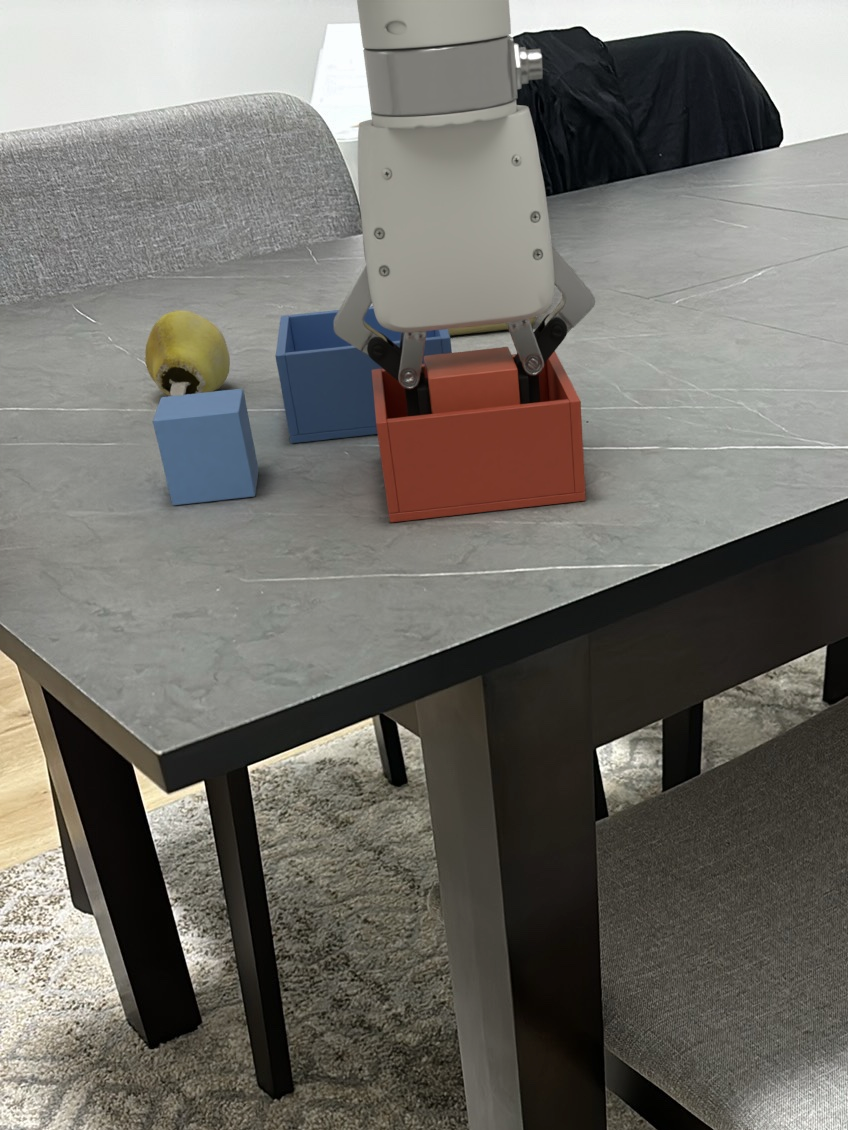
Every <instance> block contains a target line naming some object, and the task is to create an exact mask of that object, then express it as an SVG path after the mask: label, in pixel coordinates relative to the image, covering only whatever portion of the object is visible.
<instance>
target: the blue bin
mask: <svg viewBox="0 0 848 1130" xmlns="http://www.w3.org/2000/svg"><path fill="white" fill-rule="evenodd" d="M338 311H339V309H333V310H324V311H315V312H305V313H297V314H295V313H294V314H286V315H280V320H279V327H278V334H277V343H276V350H275V362H276V366H277V373H278V377H279V379H278V380H279V385H280V389H281V396H282V401H283V406H284V412H285V418H286V423H287V429H288V435H289V440H290V444H299V443H300V444H301V443H308V442H317V441H319V442H320V441H327V440H337V439H344V438H346V439H347V438H354V437H356V438H357V437H365V436H372V435H378V433H377V426H376V415H375V404H374V392H373V381H372V370H374V369H382V367H381V366H379V365H378V364H377V363H376V362H375V361H373V360H372V359H371V358H370V357H369V356H368V355H367V354H365V353H364V352H362V351H360V350H358V349H357V348H355V347H354V346H352V345H351V344H349V343H348V342H346V341H345V340H343V339H341V338H340V337H338V336H337V335H336V334H335V332H334V318H335V316H336V315H337V313H338ZM364 321H365V322H366V323H367V324H368V325H369V326H371V327H372V328H373V329H374V330H376V331H377V332H379V333H382V334H384V335H385V336H386V337H387V338H389V339H390V340H391V341H392V342H393V343H394V344H396V345H397V346H398V347H399V344H400V336H401V332H395V331H391V330H388V329H386V328H384V327H382V326H381V325H380V324H379V323H378V321H377V319H376V316H375V313H374V308H373V305H372V306H371V305H370V307H369V309H368V311H367V313H366V314H365V316H364ZM446 353H453V350H452V342H451V336H450V335H449V332H448V329H443V330H433V331H427V334H426V341H425V348H424V354H423V361H422V364H425V363H424V356H428V355H437V354H446Z"/></svg>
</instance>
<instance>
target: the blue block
mask: <svg viewBox="0 0 848 1130" xmlns="http://www.w3.org/2000/svg"><path fill="white" fill-rule="evenodd" d="M249 417H250V416H249V413H248V407H247V402H246V397H245V391H244V389H243V388H235V389H226V390H225V389H224V390H216V391H214V392H205V393H196V394H187V395H177V396H162V397H160V400H159V402H158V405H157V408H156V411H155V414H154V415H153V418H152V419H153V420H152V424H153V429H154V433H155V438H156V441H157V445H158V450H159V454H160V457H161V463H162V467H163V471H164V476H165V480H166V483H167V484H166V485H167V489H168V493H169V497H170V500H171V505H172V506H182V505H190V504H200V503H207V502H208V503H210V502H219V501H227V500H236V499H246V498H254V497H256V495H257V494H256V493H257V485H258V479H259V478H258V477H259V471H260V468H259V463H258V459H257V453H256V449H255V442H254V437H253V433H252V432H253V431H252V427H251V423H250V422H251V421H250V418H249Z"/></svg>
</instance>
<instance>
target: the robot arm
mask: <svg viewBox="0 0 848 1130" xmlns="http://www.w3.org/2000/svg"><path fill="white" fill-rule="evenodd" d="M356 4H357V12H358V20H359V26H360V36H361V44H362V48H363V50H362V51H363V59H364V67H365V75H366V83H367V91H368V99H369V106H370V116H371V119H366V120H363V121H360V122H359V123H358V130H357V182H358V200H359V201H358V202H359V210H360V221H361V233H362V245H363V254H364V264H362V266H361V269H360V271H359V273H358V275H357V276H356V278H355V280H354V282H353V284H352V285H351V287H350V289H349V291H348V293H347V295H346V296H345V298H344V300H343V301H342V303H341V305H340V307H339V309H338V310H339V311H338V313H337V315H336V316H335V318H334V332H335V334H336V335H337V336H338V337H340V338H341V339H343V340H345V341H346V342H348V343H349V344H351V345H352V346H354V347H355V348H357V349H358V350H360V351H362V352H364V353H365V354H367V355H368V356H369V357H370V358H371V359H372V360H373V361H375V362H376V363H377V364H378V365H379V366H381V367H382V368H383V369H384V370H385V371H387V372H388V373H389V374H390V375H391V376H393V377H394V378H395V379H396V380H397V381H399V383H400V384H401V386H402V387H403V388H405V395H406V403H407V411H408V417H410V416H419V415H428V414H432V410H431V401H430V393H429V387H428V382H427V378H425V375H424V370H423V367H422V361H423V354H424V348H425V341H426V334H427V331H433V330H443V329H453V328H462V327H471V326H480V325H489V324H498V323H507V326H508V331H509V334H510V337H511V340H512V343H513V346H514V349H515V351H516V353H515V354H516V355H515V357H514V362H515V365H516V367H517V369H518V381H519V394H520V404H529V403H538V402H541V400H540V386H539V373H540V372H541V371H542V370H543V367H544V364H545V363H546V361H547V360H548V359H549V357H550V356H551V355H552V354H553V352H554V351H555V352H556V350H557V349H558V347H559V346H560V345H561V344H562V342H563V341H564V340H565V338H566V337H567V335H568V333H569V332H570V331H571V330H572V329H574V328H575V327H576V326H577V325H578V324H579V323H580V322H581V321H582V320H583V319H584V318H585V317H586V316H587V315H588V314H589V313H590V311H592V309H593V308H594V307H595V304H596V298H595V296H594V294H593V292H592V291H591V289H590V288H589V287H588V286H587V285H586V283H584V281H583V280H582V279H581V278H580V277H579V275H578V274H577V273H576V272H575V271H574V270H573V268H572V267H571V266H570V265H569V263H568V262H567V261H566V260H565V259H564V257H562V255H561V254H560V253H559V252H558V251H557V249H556V248H555V247H554V246H553V245H552V236H551V225H550V218H549V210H548V201H547V194H546V187H545V181H544V175H543V171H542V166H541V160H540V154H539V147H538V146H539V145H538V141H537V136H536V131H535V127H534V122H533V117H532V115H531V111H530V108H529V106H527V105H523V104H522V105H519V104H517V99H518V98H519V97H518V90H520V89H521V90H522V85H527V84H529V81H535V80H543V75H544V72H543V67H544V66H543V55H542V49H541V48H533V49H532V48H531V49H527V48H526V46H523V47H522V46H520V47H519V44H518V43H517V42H516V43H515V42H514V41H515V39H514V37H512V36H511V34H512V31H511V30H512V29H511V26H512V25H511V14H510V13H511V12H510V9H511V8H510V0H356ZM555 287H556V289H558V291H559V292H560V293H561V300H560V302H559V303H558V304H557V305H556V307H555V308H554V309H553V310H552V312H551V313H549V314H547V315H546V316H545V317H544V318H543V320H542V321H541V322H540V323H539V324H538V325H537V326H536V329H535V330H533V327H532V325H531V324H530V321H529V319H531V318H534V317H536V318H537V317H539V316H541V315H543V314H545V313H546V312H547V311H548V310H549V309H550V308H551V307H552V305H553V303H554V300H555ZM371 305H372V306H373V308H374V313H375V316H376V319H377V321H378V323H379V324H380V325H381V326H382V327H384V328H386V329H388V330H391V331H395V332H401V336H400V344H399V347H398V346H397V345H396V344H394V343H393V342H392V341H391V340H390V339H389V338H387V337H386V336H385V335H384V334H382V333H379V332H377V331H376V330H374V329H373V328H372V327H371V326H369V325H368V324H367V323H366V322H365V321H364V316H365V314H366V313H367V311H368V309H369V307H370V306H371Z"/></svg>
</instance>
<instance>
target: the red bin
mask: <svg viewBox="0 0 848 1130" xmlns="http://www.w3.org/2000/svg"><path fill="white" fill-rule="evenodd" d="M516 354H517V353H513V354H511V355H512V357H513V360H514V357H515V355H516ZM422 367H423V370H424V375H425V378H426V372H425V364H422ZM372 381H373V392H374V404H375V415H376V426H377V433H378V434H377V440H378V446H379V455H380V460H381V467H382V475H383V482H384V483H383V484H384V490H385V496H386V503H387V513H388V519H389V522H390V523H399V522H407V521H417V520H425V519H433V518H443V517H451V516H460V515H470V514H478V513H486V512H496V511H505V510H513V509H524V508H532V507H541V506H550V505H557V504H567V503H575V502H584V501H586V500H587V499H586V478H585V477H586V476H585V475H586V474H585V460H584V459H585V458H584V457H585V456H584V440H583V437H584V436H583V421H582V418H583V417H582V401H581V399H580V397H579V395H578V394H577V391H576V389H575V388H574V385H573V384H572V381H571V380H570V377H569V376H568V373H567V371H566V370H565V367H564V366H563V364H562V362H561V360H560V358H559V356H558V353H557V352H556V350H555V351H554V352H553V354H552V355H551V356H550V357H549V359H548V360H547V361H546V363H545V364H544V367H543V370H542V371H541V372H540V373H539V386H540V400H541V402H538V403H529V404H520V405H511V406H501V407H492V408H483V409H474V410H465V411H456V412H446V413H437V414H428V415H419V416H410V417H408V411H407V403H406V395H405V388H403V387H402V386H401V384H400V383H399V381H397V380H396V379H395V378H394V377H393V376H391V375H390V374H389V373H388V372H387V371H385V370H384V369H383V368H382V369H374V370H372Z"/></svg>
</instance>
